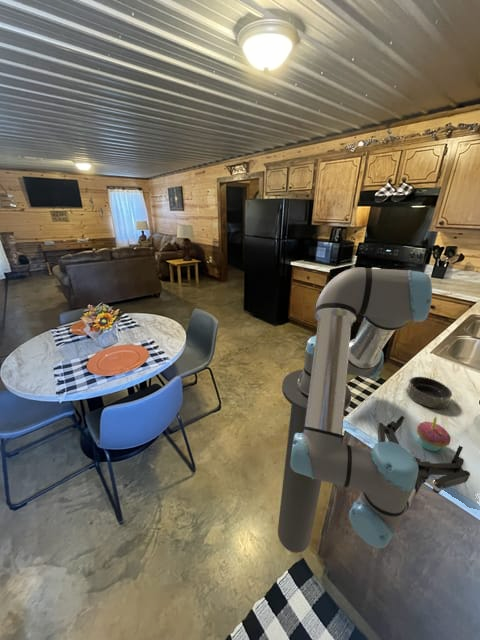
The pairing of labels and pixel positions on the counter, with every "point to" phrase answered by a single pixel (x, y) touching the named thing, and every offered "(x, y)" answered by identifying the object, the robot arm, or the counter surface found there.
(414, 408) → the counter surface
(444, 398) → the dark round bowl
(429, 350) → the counter surface
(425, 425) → the cupcake
